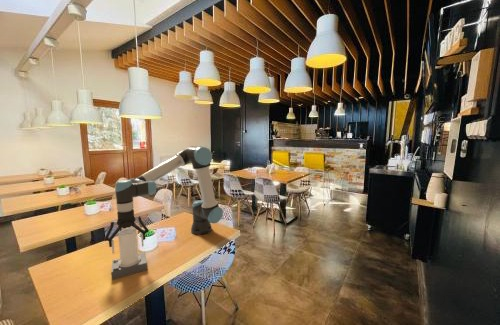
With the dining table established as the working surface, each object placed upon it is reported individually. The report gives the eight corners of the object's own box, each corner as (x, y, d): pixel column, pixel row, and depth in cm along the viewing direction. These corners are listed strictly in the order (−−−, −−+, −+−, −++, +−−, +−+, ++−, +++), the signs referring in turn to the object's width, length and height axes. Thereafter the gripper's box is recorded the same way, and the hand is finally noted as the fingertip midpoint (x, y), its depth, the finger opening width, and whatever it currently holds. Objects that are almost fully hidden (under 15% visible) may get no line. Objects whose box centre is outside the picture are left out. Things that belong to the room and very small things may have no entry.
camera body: (145, 259, 126) (145, 250, 125) (147, 269, 115) (146, 260, 115) (113, 267, 118) (112, 258, 117) (111, 279, 107) (111, 270, 107)
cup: (130, 265, 111) (128, 235, 110) (116, 263, 113) (114, 234, 111) (141, 257, 119) (139, 229, 118) (128, 255, 121) (126, 228, 119)
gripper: (150, 204, 123) (153, 240, 125) (97, 212, 110) (100, 251, 112) (152, 207, 116) (154, 245, 118) (95, 216, 104) (99, 258, 106)
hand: (128, 248), depth 115 cm, fingers open, 13 cm apart
